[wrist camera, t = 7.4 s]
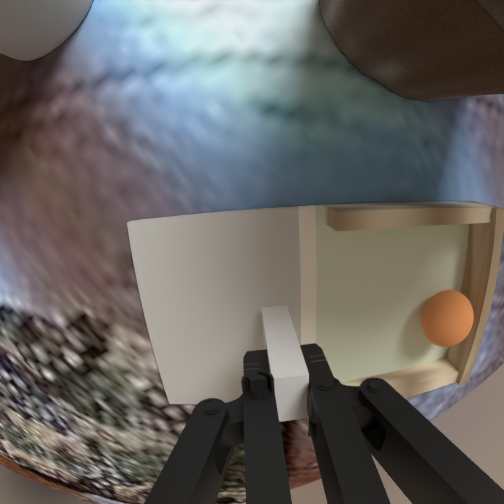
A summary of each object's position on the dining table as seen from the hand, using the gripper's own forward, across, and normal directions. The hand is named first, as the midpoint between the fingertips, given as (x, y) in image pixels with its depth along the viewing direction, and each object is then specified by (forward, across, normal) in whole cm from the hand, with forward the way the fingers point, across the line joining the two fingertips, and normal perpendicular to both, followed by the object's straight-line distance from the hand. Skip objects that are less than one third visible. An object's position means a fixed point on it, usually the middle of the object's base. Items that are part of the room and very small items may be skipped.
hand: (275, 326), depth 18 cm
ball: (-1, +12, -1) cm, 12 cm away
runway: (+2, +4, 0) cm, 4 cm away
